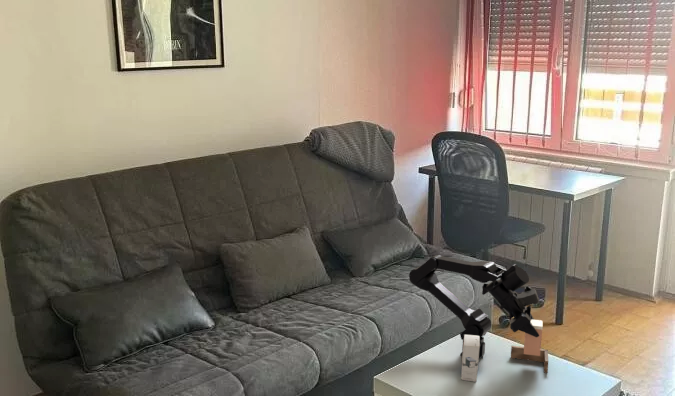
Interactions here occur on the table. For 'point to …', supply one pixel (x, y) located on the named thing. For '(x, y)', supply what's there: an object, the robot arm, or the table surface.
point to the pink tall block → (534, 339)
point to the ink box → (470, 357)
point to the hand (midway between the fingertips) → (538, 333)
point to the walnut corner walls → (530, 356)
